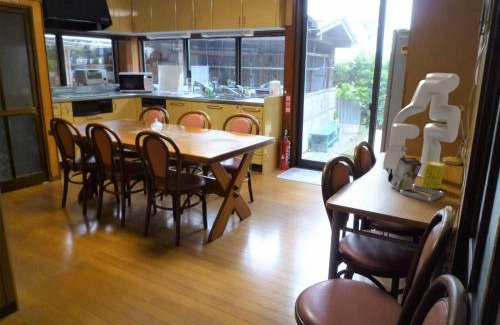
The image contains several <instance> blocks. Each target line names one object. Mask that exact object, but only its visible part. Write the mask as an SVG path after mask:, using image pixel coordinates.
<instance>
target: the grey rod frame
mask: <svg viewBox="0 0 500 325" xmlns="http://www.w3.org/2000/svg"><path fill="white" fill-rule="evenodd" d="M412 189H413V190H416V191H419V192H420V191H421V192H424V193H427V194H432V195H431V196H427V195H423V194H419V193H414V192H411V191H407V190H399V195H403V196H405V197H410V198H413V199H416V200H420V201H423V202H428V203H432V202H433V201H435V200H438V199H439V198H441V197H443V195H444V191H441V190H438V189H431V188H430V189H429V188H425V187H423V186H422V185H417V184H413V187H412Z"/></svg>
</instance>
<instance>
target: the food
mask: <svg viewBox="0 0 500 325" xmlns="http://www.w3.org/2000/svg"><path fill="white" fill-rule="evenodd" d="M445 170H446V164H445V163H444V162H443V163H442V162H440V161H439V162H437V161H436V162H435V161H427V162H426V166H425V169H424V174H423V178H422V177H421V178H422V179H421V183H420V184H421V185H420V186H421V187H425V188H429V189H433V190H439V189H441V184H442V183H443V177H444V174H445Z"/></svg>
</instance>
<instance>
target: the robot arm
mask: <svg viewBox="0 0 500 325" xmlns="http://www.w3.org/2000/svg"><path fill="white" fill-rule="evenodd" d="M459 84H460V76H459V75H458V74H456V73H449V72H448V73H447V72H430V73H427V74H426V76H425V79H422V80H420V81H419V83H418V84H417V86H416V89H415V91H414V93H413V96H412V98H411V100H410V103H409V104H408V105H407V106H405V107H404V108H402V109H401V110H400V111H399V112H398V113H397V114H396V115H395V117H394V119H393V121H392V124H391V126H390V137H389V144H388V149H386V152H385V155H384V158H383V164H382V165H383V167H382V169H383V170H385V171H386V172H387V175H388V177H387V180H388V181H387V182H388V183H391V181H392V178H393V175H394V173H395V170H396V168H397V165H398V162H399V160H400V158H406V152H405V151H407V147H406V139H407V140H412V139H416V138H417V137H418V136H419V135H420V127H419V126H418V125H415V124H410V123H405V122H404V121H405V120H406V119H407V118H409V117H411V116H413V115H416V114H419V113H422V112H425V111H426V110H427V107H428V105H429V103H430V106H429V112H428V113H429V114H428V115H429V119H430V120H431V121H435V122H429V123H426V125H425V126H424V127H423V144H422V152H421V158H420V159H421V160H420V163H422V165H421V168H420V170H419V172H418V175H417V177H419V178H423V174H424V169H425V166H426V162H427V161H435V162H436V161H437V162H439V163H440V158H441V157H440V156H441V152H442V146H441V144H440V142H445V143H453V142H455V141H456V139H457V137H458V135H459V134H458V132H459V126H460V121H461V116H462V115H461V114H462V113H461V109H460V108H459V106H457V105H451V104H448V102H449V94H450V93H451V92H453V91H454V90H456V89H457V88H458V86H459ZM438 122H441V123H438ZM442 122H443V123H442ZM444 123H446V124H444Z"/></svg>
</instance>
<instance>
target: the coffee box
mask: <svg viewBox="0 0 500 325" xmlns="http://www.w3.org/2000/svg"><path fill="white" fill-rule="evenodd" d="M421 165H422V163H421V161H419V160H418V159H417V158H416V157H405V158H400V160H399V162H398V165H397V168H396V170H395V173H394V175H393V178H392V181H391V182H390V185H391V186H392V187H393V188H394V189H395V190H396V191H400V190H405V191H407V190H412V189H413V185H415V184H414V183H415V182H416V180H417V177H418V176H417V175H418V172H419V171H420V168H421Z"/></svg>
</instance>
